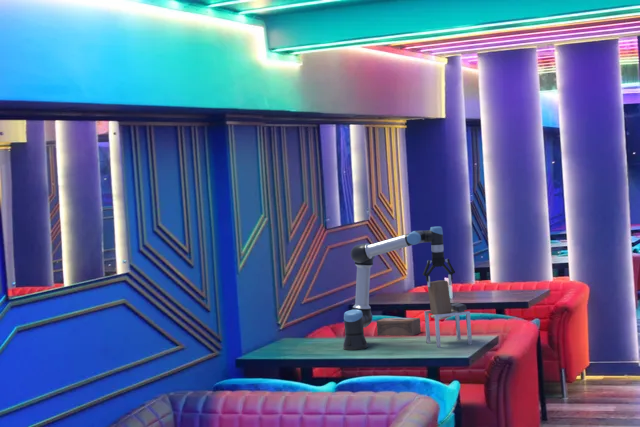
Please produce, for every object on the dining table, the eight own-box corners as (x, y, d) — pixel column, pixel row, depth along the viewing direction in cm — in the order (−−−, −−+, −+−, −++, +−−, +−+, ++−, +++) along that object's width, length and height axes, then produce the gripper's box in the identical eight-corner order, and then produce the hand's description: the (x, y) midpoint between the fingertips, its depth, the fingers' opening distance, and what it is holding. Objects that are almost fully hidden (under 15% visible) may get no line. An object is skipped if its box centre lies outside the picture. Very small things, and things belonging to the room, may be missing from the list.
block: (437, 315, 583) (433, 282, 583) (430, 314, 592) (426, 282, 592) (452, 312, 586) (448, 280, 586) (445, 311, 595) (440, 279, 595)
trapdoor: (430, 317, 596) (428, 310, 596) (458, 308, 600) (456, 302, 600) (439, 320, 580) (437, 313, 579) (467, 311, 583) (466, 305, 583)
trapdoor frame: (426, 342, 598) (424, 311, 598) (459, 339, 603) (457, 307, 602) (437, 347, 577) (435, 314, 577) (472, 344, 581) (469, 311, 581)
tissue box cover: (420, 332, 646) (419, 317, 645) (413, 336, 633) (412, 321, 633) (385, 332, 657) (384, 318, 657) (377, 335, 644) (376, 321, 644)
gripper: (420, 253, 582) (422, 288, 583) (458, 250, 587) (460, 284, 588) (416, 252, 590) (418, 287, 590) (454, 249, 595) (456, 283, 595)
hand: (439, 286), depth 589 cm, fingers open, 13 cm apart
